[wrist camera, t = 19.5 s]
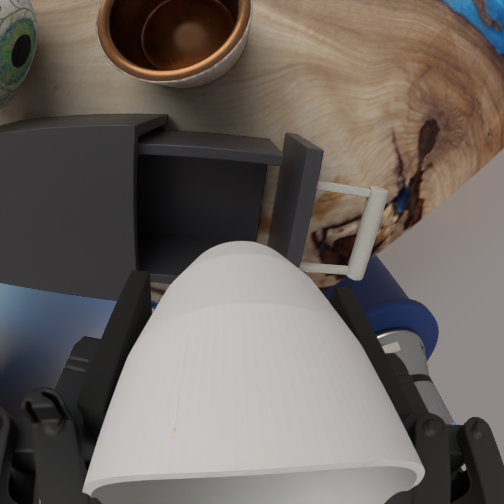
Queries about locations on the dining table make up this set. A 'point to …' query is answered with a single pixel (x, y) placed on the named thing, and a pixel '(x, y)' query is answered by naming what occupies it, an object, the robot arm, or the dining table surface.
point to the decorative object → (16, 45)
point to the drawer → (234, 199)
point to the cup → (249, 397)
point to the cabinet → (71, 202)
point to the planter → (173, 38)
